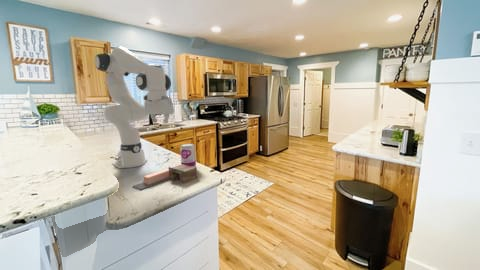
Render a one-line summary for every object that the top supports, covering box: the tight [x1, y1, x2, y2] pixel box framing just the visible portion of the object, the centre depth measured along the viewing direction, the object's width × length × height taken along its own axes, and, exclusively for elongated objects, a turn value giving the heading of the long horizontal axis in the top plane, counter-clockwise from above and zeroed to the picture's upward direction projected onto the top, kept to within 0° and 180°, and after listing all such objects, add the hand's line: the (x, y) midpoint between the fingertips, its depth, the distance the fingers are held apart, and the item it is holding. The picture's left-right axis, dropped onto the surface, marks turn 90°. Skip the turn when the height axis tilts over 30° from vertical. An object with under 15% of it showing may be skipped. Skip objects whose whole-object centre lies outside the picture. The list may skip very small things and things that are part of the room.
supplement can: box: [179, 143, 197, 167], centre depth 125 cm, size 8×8×15 cm
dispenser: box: [167, 164, 198, 184], centre depth 112 cm, size 11×9×6 cm
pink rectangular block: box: [143, 167, 170, 184], centre depth 110 cm, size 4×14×4 cm, turn 145°
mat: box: [132, 177, 170, 191], centre depth 107 cm, size 7×16×1 cm, turn 145°
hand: (160, 122), depth 114 cm, fingers open, 8 cm apart
